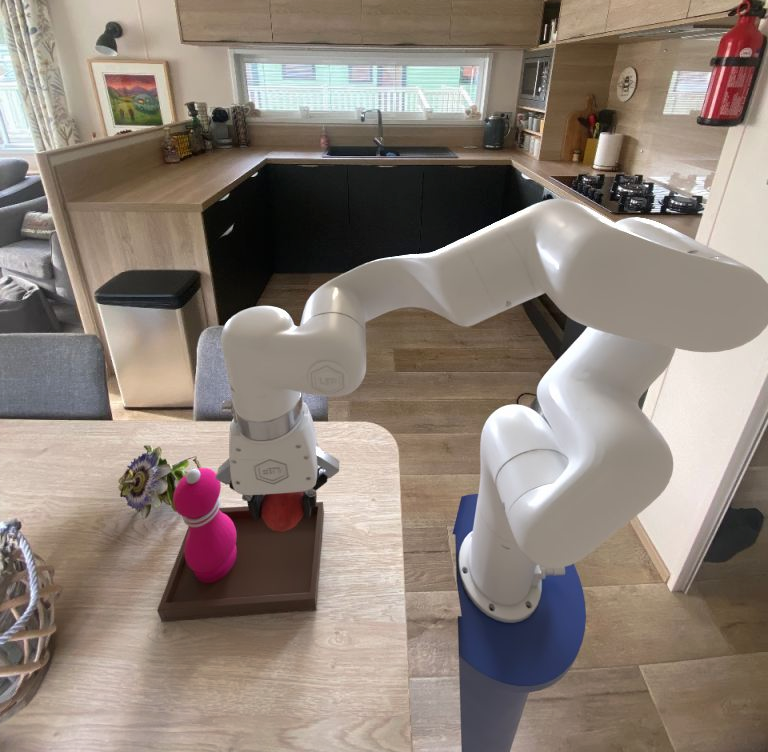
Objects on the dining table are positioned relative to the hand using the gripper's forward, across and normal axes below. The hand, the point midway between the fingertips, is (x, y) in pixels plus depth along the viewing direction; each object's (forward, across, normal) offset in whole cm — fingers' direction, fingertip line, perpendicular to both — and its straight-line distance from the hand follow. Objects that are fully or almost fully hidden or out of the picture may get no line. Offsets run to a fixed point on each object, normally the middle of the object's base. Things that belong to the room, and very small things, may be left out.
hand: (284, 507), depth 52 cm
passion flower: (+17, -26, +15) cm, 35 cm away
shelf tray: (+17, -7, +3) cm, 19 cm away
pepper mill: (+16, -13, +3) cm, 21 cm away
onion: (+3, 0, 0) cm, 3 cm away
